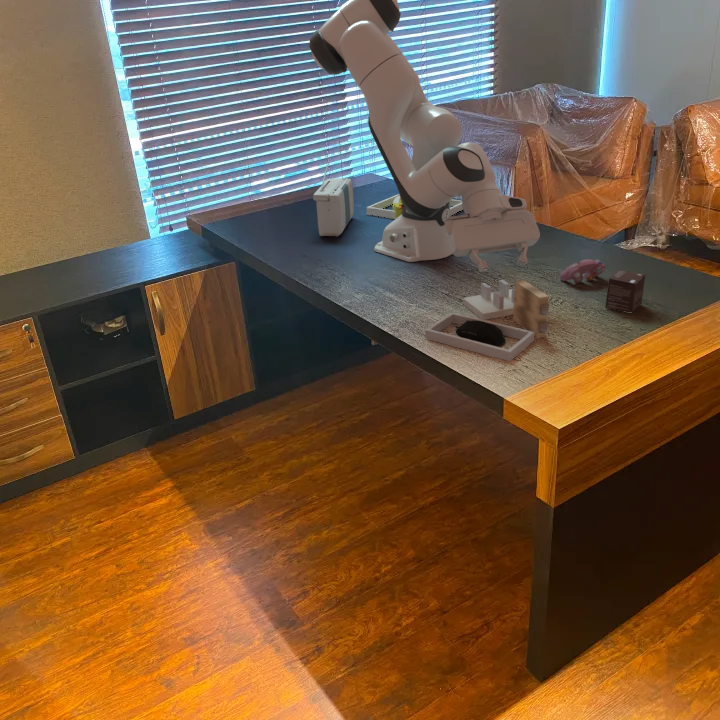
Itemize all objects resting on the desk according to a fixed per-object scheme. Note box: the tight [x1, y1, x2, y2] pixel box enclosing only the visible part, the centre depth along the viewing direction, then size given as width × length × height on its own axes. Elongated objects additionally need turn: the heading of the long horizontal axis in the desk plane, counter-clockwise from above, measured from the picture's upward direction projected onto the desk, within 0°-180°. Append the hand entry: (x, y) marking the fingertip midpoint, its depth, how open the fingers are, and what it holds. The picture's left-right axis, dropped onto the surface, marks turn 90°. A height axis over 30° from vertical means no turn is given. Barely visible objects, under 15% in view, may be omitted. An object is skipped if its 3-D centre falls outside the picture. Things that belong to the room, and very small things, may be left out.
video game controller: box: [559, 258, 607, 284], centre depth 171 cm, size 10×5×7 cm, turn 106°
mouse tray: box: [424, 311, 535, 362], centre depth 146 cm, size 20×11×2 cm, turn 52°
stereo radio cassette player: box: [312, 156, 355, 238], centre depth 218 cm, size 21×8×20 cm, turn 170°
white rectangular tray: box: [366, 193, 464, 220], centre depth 232 cm, size 26×21×2 cm
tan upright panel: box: [512, 279, 550, 339], centre depth 148 cm, size 11×2×9 cm, turn 18°
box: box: [604, 269, 646, 313], centre depth 156 cm, size 6×6×7 cm
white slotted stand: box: [462, 279, 515, 321], centre depth 160 cm, size 10×14×4 cm
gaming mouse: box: [453, 320, 506, 347], centre depth 148 cm, size 6×15×4 cm, turn 37°
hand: (503, 267), depth 153 cm, fingers open, 8 cm apart
